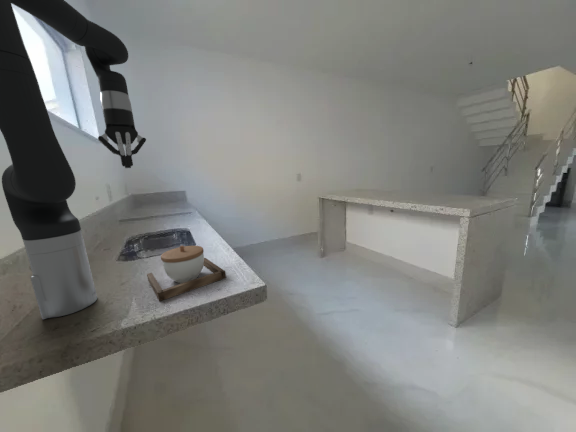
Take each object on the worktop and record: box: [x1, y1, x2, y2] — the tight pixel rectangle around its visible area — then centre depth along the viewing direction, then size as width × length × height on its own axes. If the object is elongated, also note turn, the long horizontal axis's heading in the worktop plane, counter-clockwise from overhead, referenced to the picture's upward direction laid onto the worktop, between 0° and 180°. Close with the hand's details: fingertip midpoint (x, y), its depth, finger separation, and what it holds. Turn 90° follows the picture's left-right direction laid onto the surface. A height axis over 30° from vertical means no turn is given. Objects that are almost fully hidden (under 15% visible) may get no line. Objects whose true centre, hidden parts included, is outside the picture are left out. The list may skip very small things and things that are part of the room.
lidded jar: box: [160, 245, 205, 284], centre depth 65 cm, size 11×11×9 cm
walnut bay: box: [146, 257, 227, 302], centre depth 65 cm, size 16×15×2 cm
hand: (128, 167), depth 75 cm, fingers closed
